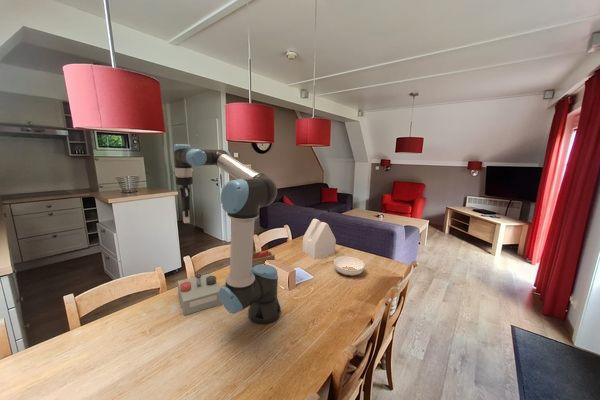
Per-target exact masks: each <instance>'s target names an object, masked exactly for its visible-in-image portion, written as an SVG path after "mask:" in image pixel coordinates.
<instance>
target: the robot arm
mask: <svg viewBox="0 0 600 400" xmlns="http://www.w3.org/2000/svg"><path fill="white" fill-rule="evenodd" d="M172 153H173V158H174V175H175V176H176V177H175V184H176V186H180V188H179V192H180V198H181V208H182V209H181V212H182V216H183V217H182V218H183V223H184V224H190V223H191V219H190V210H191V208H190V206H191V205H190V203H191V202H190V194H191V191H190V190H191V189H190V188H189V186H191V185H193V184H194V183H193V181H194V180H193V177H192V176H193V172H194V169H193V168H192V167H202V166H216V167H218V168H219V169H221V170H223V171H224V172H225V173H227V174H228V175H230V176H231V177H232V178H234V179H232V180H229V181H227V182H226V184H225V185H223V187H222V189H221V193H220V204H221V206H222V208H223V210H224V211H225V212H226V213H227V217H228V218H230V219H231V221H230V251H229V253H230V254H229V255H230V259H229V273H228V274H227V275H226V276H225V285H223V286H221V287H220V290H219V296H220V300H221V302H222V304H221V305H222V306H223V307H224V309H225V310H226V311H227V312H229V313H230V314H233V315H235V314H237V313H240V312H242V311H243V310H245V309H246V308H248V310H247V316H248V318H249V320H250V321H251V322H252V323H255V324H257V325H269V324H271V323H273V322H276V321H277V320H278V319H279V318H280V316H281V314H282V313H281V311H282V310H281V309H282V308H281V305H280V302H279V299H278V287H279V286H278V281H279V276H278V270H277V269H276V267H274V266H272V265H269V264H265V265H256V266H254V267H252V257H253V253H254V234H255V220H256V219H257V218H258V217H259V216H260V208H264V207H267V206H270V205H271V204H272V203H274V201H275V200H276V198H277V195H278V188H277V184H276V182H275V181H274V179H272V178H271V177H270V176H269V175H267V174H265V173H263V172H257V171H255V170H254V169H252V168H251V167H248V166H247V165H245V164H244V163H242V162H240V161H239V160H237V159H236V158H234V157H232V154H231V153H230V151H229V150H225V149H206V148H205V149H202V148H201V149H200V148H192V147H191V145H190V144H185V143H184V144H182V143H180V144H179V143H176V144H174V145H173V151H172Z"/></svg>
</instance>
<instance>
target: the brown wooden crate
mask: <svg viewBox="0 0 600 400" xmlns="http://www.w3.org/2000/svg"><path fill="white" fill-rule="evenodd" d="M262 252H266V253H267V254H268V256H266V257H265V256H262V258H258V256H259V254H260V253H262ZM275 256H276V255H275V254H274V253H272V252H271V250H269V249H267V250H263V251H258V252H253V257H252V268H253V267H254V266H256V265H262V264H264V263H265V261H266V260H275V258H276V257H275Z"/></svg>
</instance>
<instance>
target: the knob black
mask: <svg viewBox="0 0 600 400" xmlns="http://www.w3.org/2000/svg"><path fill="white" fill-rule="evenodd" d="M216 282H217V277H216V276H215V275H213V276H209V277H207V278H206V284H207V285H213V284H215V283H216Z"/></svg>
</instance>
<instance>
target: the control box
mask: <svg viewBox="0 0 600 400" xmlns="http://www.w3.org/2000/svg"><path fill="white" fill-rule="evenodd" d="M209 276H214V274H213V273H212V272H210V273H206V274H203V275H202V274H201V286H200V287H197V281H196V276H195V277H194V276H193V277H190V278H186V279H181V280H177V291H178V292H177V293H178V297H179V301H180V305H181V308H182V312H183V315H184V316H187V315H190V314H193V313H196V312H199V311H200V312H201V311H203V310H206V309H209V308H213V307H216V306H220V305H223V304H222V302H221V300H220V296H219V290H220V288H221V287H220V286H219V285H220V284H219V283H218V282H217V281H216V283H215V284H213V285H207V284H206V278H207V277H209ZM184 282H190V283H191V290H189V291H187V292H182V291H180V284H182V283H184Z"/></svg>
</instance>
